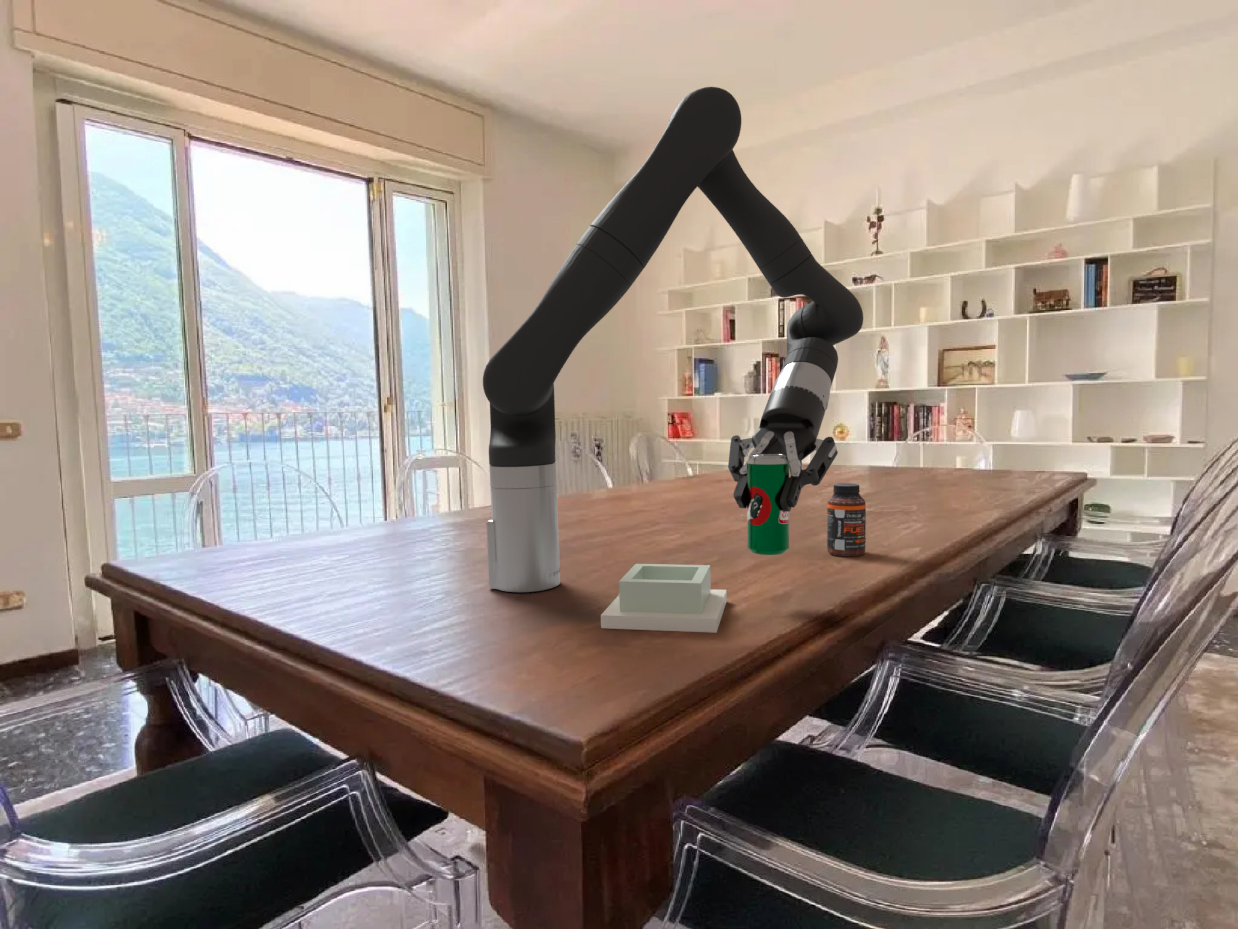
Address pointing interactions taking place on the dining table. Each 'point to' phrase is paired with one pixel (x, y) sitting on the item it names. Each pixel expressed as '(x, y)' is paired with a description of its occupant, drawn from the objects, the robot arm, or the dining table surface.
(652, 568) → the socket holder
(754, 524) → the soda can
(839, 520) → the supplement bottle
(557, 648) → the dining table surface
